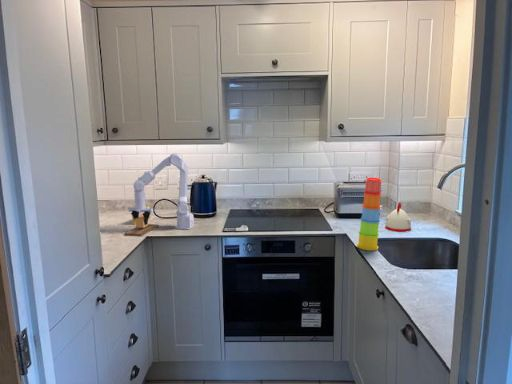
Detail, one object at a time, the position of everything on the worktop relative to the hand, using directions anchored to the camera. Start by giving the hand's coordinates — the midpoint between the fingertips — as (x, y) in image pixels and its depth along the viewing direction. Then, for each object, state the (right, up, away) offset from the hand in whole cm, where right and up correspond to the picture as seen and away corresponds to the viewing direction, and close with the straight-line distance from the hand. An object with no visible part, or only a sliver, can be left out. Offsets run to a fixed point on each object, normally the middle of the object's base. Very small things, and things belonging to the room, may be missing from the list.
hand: (141, 223), depth 217 cm
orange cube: (0, -1, 0) cm, 1 cm away
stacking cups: (+121, -9, -32) cm, 126 cm away
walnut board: (0, -4, +1) cm, 4 cm away
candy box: (-7, -1, +21) cm, 22 cm away
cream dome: (+148, -3, 0) cm, 149 cm away
